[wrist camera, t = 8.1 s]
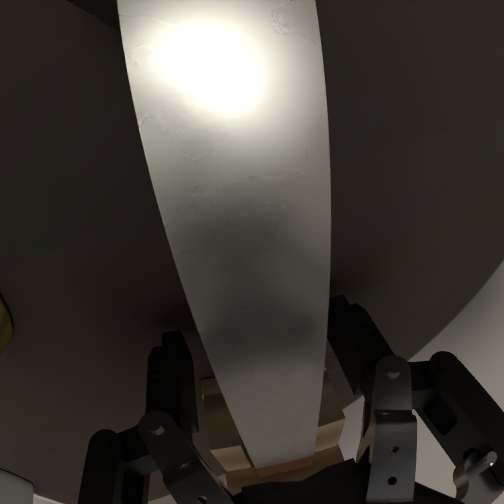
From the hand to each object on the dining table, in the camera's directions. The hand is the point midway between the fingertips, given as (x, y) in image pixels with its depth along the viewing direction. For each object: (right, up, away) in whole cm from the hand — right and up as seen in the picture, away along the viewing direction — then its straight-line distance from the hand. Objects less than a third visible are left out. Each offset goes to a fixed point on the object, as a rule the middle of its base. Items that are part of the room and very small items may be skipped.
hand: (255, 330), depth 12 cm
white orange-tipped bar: (0, +2, -1) cm, 3 cm away
